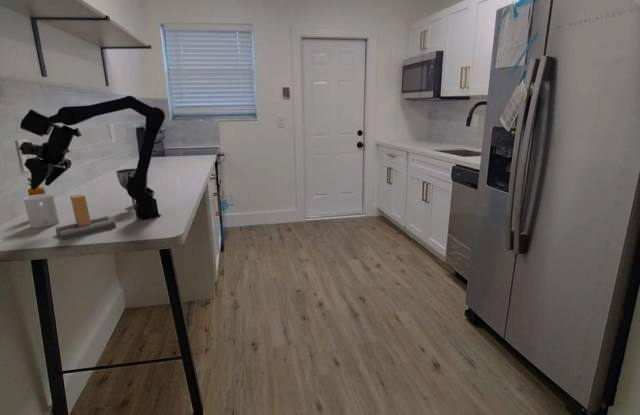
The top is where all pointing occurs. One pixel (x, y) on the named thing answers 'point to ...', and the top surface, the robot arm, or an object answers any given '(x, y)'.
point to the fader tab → (80, 210)
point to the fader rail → (85, 228)
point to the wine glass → (126, 182)
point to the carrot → (36, 191)
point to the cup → (41, 210)
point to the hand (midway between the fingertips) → (40, 187)
